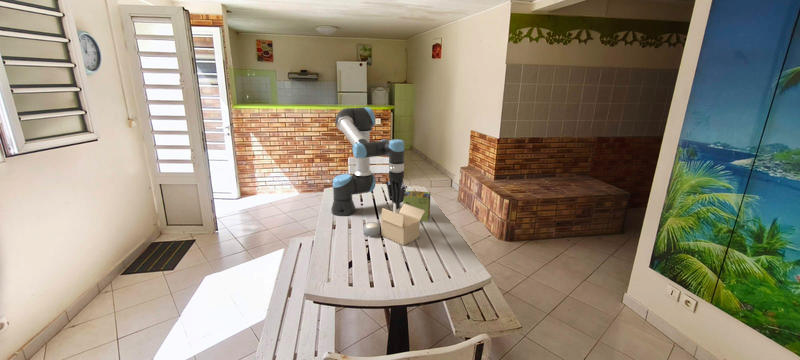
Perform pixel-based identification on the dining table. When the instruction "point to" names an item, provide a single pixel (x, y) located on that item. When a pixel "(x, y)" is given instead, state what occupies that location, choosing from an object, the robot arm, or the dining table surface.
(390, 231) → the carton
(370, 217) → the dining table surface
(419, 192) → the protein box
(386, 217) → the flap near
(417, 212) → the flap far
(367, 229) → the push tap light
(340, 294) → the dining table surface
